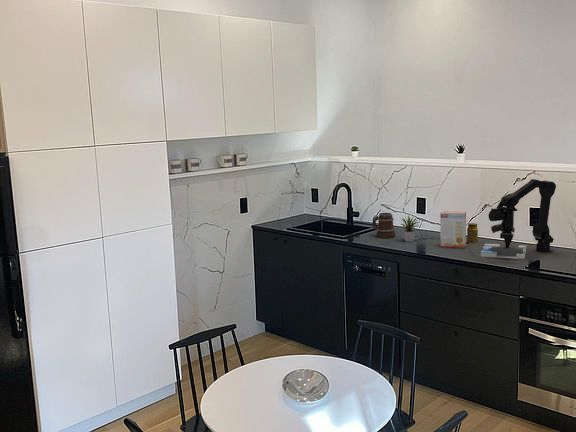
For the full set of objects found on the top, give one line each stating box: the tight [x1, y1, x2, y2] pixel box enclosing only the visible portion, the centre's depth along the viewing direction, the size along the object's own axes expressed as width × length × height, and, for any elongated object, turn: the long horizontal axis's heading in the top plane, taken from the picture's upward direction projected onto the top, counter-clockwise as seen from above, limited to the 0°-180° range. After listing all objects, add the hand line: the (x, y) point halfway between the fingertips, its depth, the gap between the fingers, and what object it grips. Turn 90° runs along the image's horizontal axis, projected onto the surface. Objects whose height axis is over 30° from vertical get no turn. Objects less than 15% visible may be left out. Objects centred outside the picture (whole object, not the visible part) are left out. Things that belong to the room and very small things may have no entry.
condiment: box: [466, 222, 479, 246], centre depth 355 cm, size 7×8×12 cm
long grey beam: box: [491, 246, 523, 257], centre depth 323 cm, size 16×4×4 cm, turn 66°
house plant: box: [400, 214, 420, 243], centre depth 368 cm, size 14×14×16 cm
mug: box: [371, 212, 396, 239], centre depth 385 cm, size 16×12×15 cm
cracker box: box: [439, 210, 467, 249], centre depth 349 cm, size 14×6×21 cm, turn 65°
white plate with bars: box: [480, 243, 527, 260], centre depth 328 cm, size 22×22×4 cm
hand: (507, 247), depth 322 cm, fingers closed
